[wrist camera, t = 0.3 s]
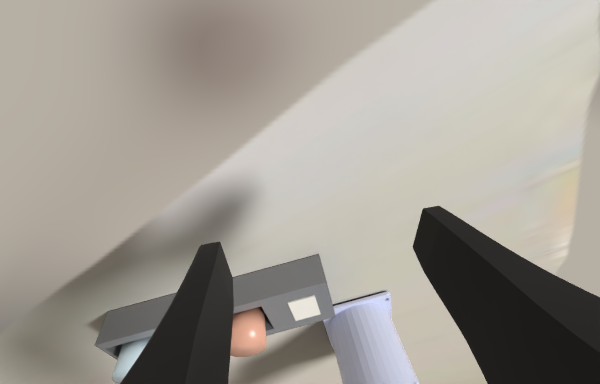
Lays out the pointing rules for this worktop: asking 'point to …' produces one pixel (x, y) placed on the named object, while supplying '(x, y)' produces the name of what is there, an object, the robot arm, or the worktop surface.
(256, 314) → the terracotta button
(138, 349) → the blue button
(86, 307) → the worktop surface
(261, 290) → the console
